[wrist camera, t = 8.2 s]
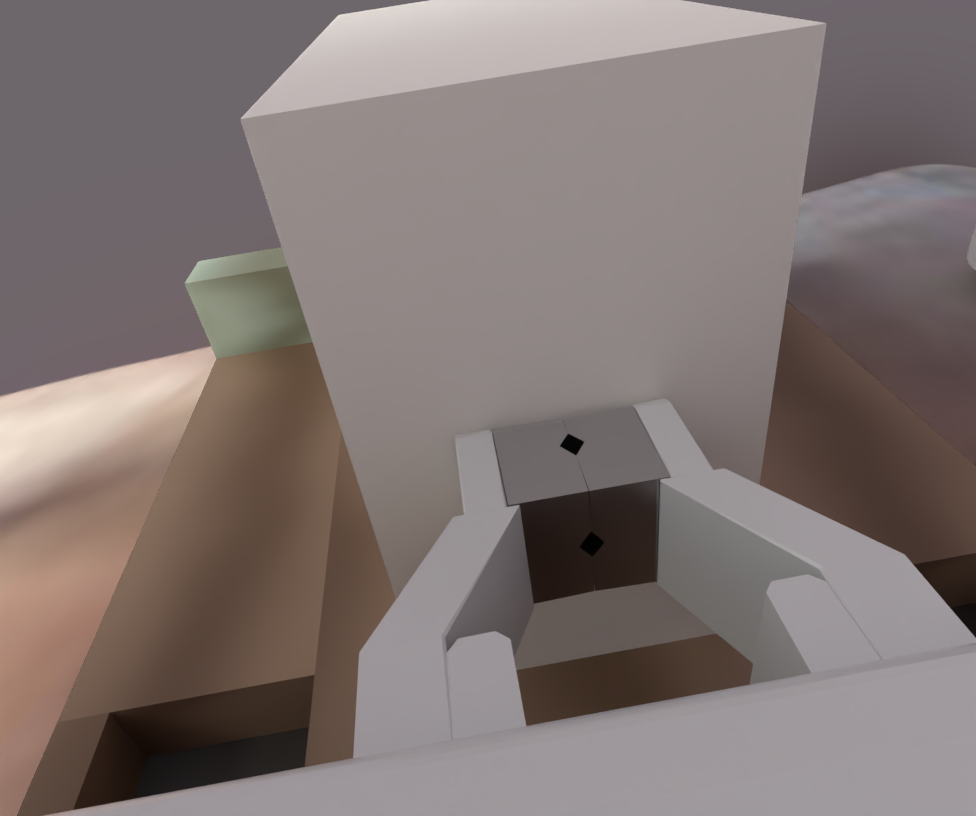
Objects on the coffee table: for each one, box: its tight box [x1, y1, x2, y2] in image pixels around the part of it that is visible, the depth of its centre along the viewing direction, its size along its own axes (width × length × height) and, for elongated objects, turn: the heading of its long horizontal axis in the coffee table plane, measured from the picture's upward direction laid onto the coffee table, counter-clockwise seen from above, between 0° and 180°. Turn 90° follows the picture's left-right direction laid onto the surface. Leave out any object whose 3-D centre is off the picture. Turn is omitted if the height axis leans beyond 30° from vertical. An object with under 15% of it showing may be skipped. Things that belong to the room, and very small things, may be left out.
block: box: [240, 0, 826, 670], centre depth 15 cm, size 6×14×10 cm, turn 7°
